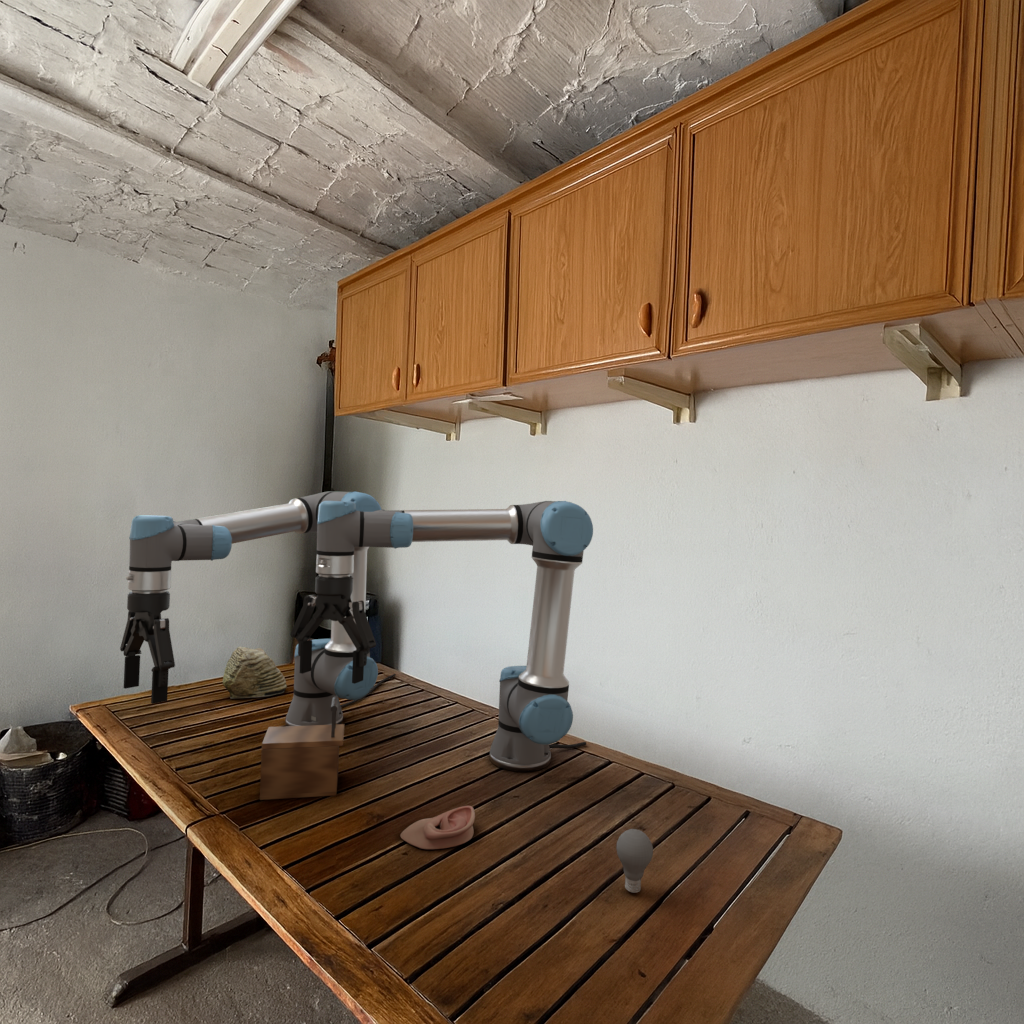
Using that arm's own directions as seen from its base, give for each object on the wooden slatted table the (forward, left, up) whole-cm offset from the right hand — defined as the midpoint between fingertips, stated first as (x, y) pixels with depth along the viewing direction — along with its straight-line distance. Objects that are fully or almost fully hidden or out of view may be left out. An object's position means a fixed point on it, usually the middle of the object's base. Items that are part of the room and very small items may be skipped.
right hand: (330, 676), depth 132 cm
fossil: (+13, -77, -26) cm, 82 cm away
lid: (+4, -8, -15) cm, 18 cm away
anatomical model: (-18, +20, -26) cm, 38 cm away
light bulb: (-44, +47, -26) cm, 70 cm away
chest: (+5, -8, -26) cm, 28 cm away
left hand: (+35, -12, -5) cm, 38 cm away
